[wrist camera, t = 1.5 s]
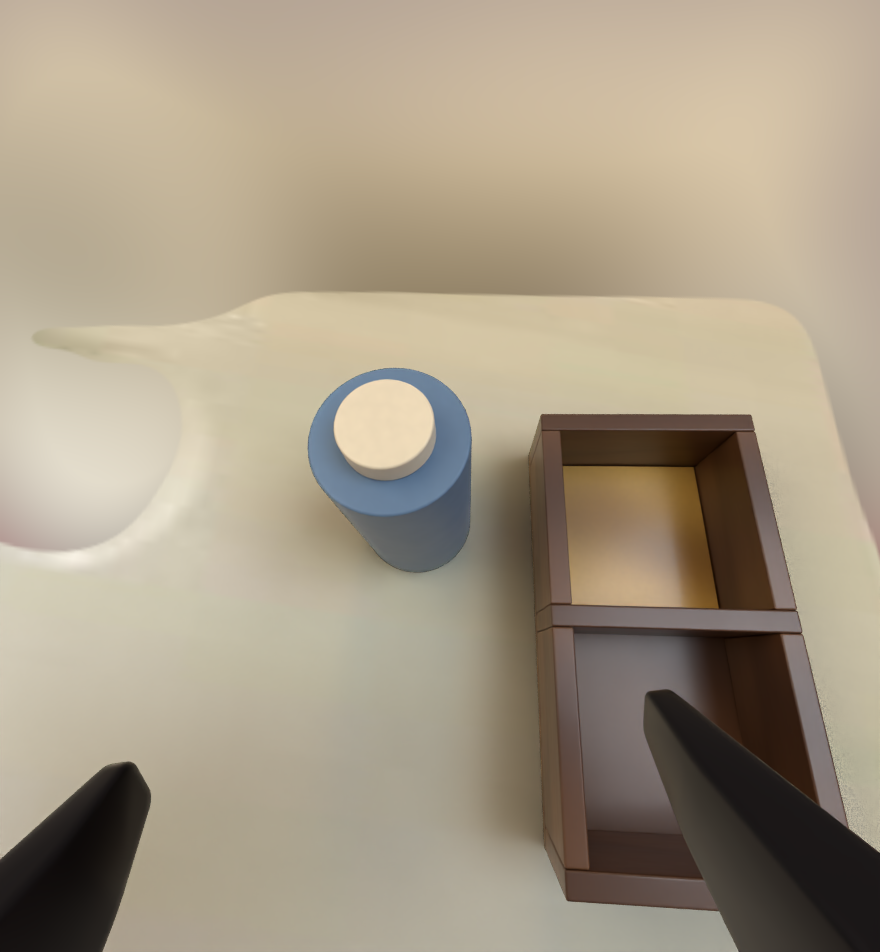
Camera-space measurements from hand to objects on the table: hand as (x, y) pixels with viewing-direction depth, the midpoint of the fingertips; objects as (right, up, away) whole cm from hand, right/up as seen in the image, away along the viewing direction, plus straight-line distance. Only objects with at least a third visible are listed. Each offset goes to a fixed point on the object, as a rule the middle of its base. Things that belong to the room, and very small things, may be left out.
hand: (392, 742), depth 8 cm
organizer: (+10, -2, +13) cm, 16 cm away
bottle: (0, +2, +15) cm, 16 cm away
